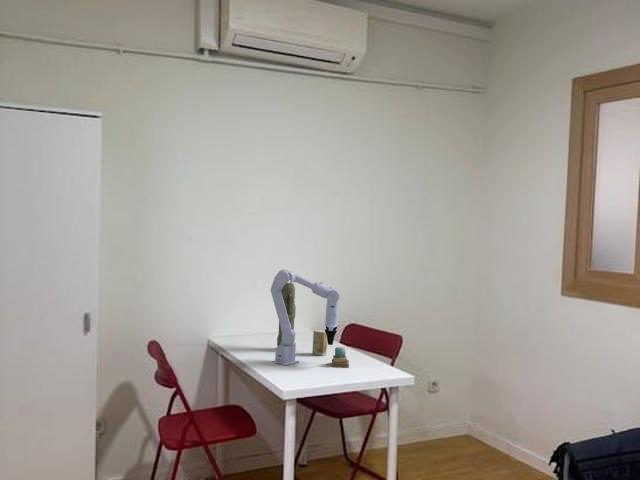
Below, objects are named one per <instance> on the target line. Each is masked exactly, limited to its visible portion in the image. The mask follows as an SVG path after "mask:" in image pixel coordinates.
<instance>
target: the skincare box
mask: <svg viewBox="0 0 640 480" xmlns="http://www.w3.org/2000/svg"><path fill="white" fill-rule="evenodd" d="M327 347H328V342H327V335H326V332H325V330H323V329H322V330H321V329H315V330H313V337H312V351H311V353H312V355H314V356H321V357H324V356H326V355H327Z"/></svg>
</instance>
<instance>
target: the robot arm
mask: <svg viewBox="0 0 640 480" xmlns="http://www.w3.org/2000/svg"><path fill="white" fill-rule="evenodd" d="M287 283H292V284H294V283H296V284H298V285H299V284H300V285H302V286H304V287H307V288H308V289H310V290H311V292H312V293H313V294H314V295H317V296H319V297H321V298H323V299H327V300H326V308H325V323H324V326H325V329H324V331H325V332H326V335H327V346H328V345H329V346H333V345H334V340H335V336H336V334H337V332H338V330H337V329H338V327H340V326H341V325H340V323H338V322H339V321H338V319H339V318H338V317H339V299H340V294H339V291H338V290H336V289H335V288H333V287H332V286H328V285H326V284H323V282H322V281H316V282H313V281H311V280H309V279H307V278H306V277H303V276H302V275H299V274H298V273H296V272H293V271H289V270H288V269H281V270H279V271H278V272H277V273H276V275H275V276H274V278H273V281H272V284H271V288H270V294H271V297H272V300H273V304H274V308H275V311H276V315H277V318H278V323H279V322H280V326H281V332H282V338H281V339H282V342H281V344H280V345H279V346H277V345H276V348H275V353H274V354H275V356H274V361H273V362H274V363H275V364H279V365H283V366H288V365H292V364H293V365H294V364H297V363H300V361H299V360H296V351H297V350H296V349H297V348H296V347H297V345H296V344H297V343H296V342H295V340H296V332H295V329H294V330H293V329H292V327H291V324H290V322H289V318H288V315H287V311H286V308H285V304H284V300H283V297H282V293H281V290H282V288H283V286H284V285H285V284H287Z"/></svg>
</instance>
